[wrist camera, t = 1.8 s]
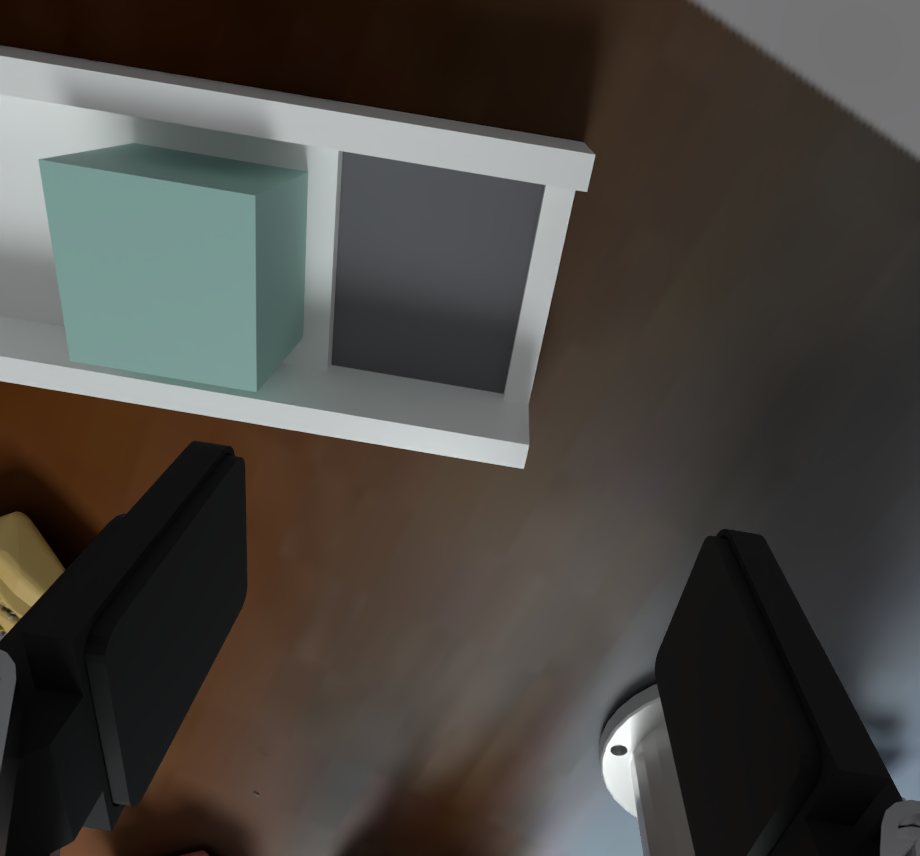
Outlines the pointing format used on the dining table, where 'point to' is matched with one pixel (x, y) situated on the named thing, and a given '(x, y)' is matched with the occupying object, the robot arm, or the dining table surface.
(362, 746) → the dining table surface
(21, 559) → the figurine with sign
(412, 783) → the dining table surface
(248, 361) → the green block
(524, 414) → the trough
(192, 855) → the pink cube
